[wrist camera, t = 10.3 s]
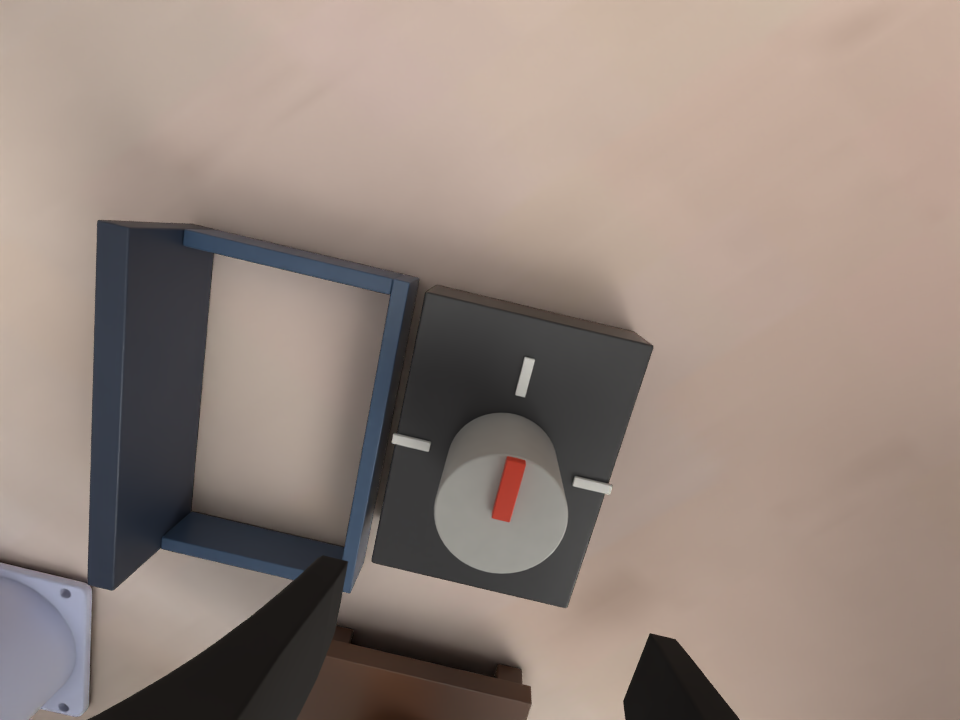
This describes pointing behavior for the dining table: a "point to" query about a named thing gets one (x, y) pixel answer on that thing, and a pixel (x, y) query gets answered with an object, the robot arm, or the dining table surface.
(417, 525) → the panel
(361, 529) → the bin
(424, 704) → the square wooden board
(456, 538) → the dial
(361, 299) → the dining table surface
